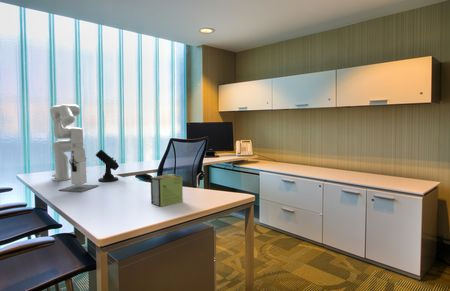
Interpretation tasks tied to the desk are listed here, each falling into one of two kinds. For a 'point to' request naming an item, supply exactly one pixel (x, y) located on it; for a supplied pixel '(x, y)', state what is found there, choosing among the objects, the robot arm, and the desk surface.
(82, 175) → the milk carton
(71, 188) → the rubber mat
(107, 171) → the microphone
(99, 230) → the desk surface
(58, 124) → the robot arm
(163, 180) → the protein box
